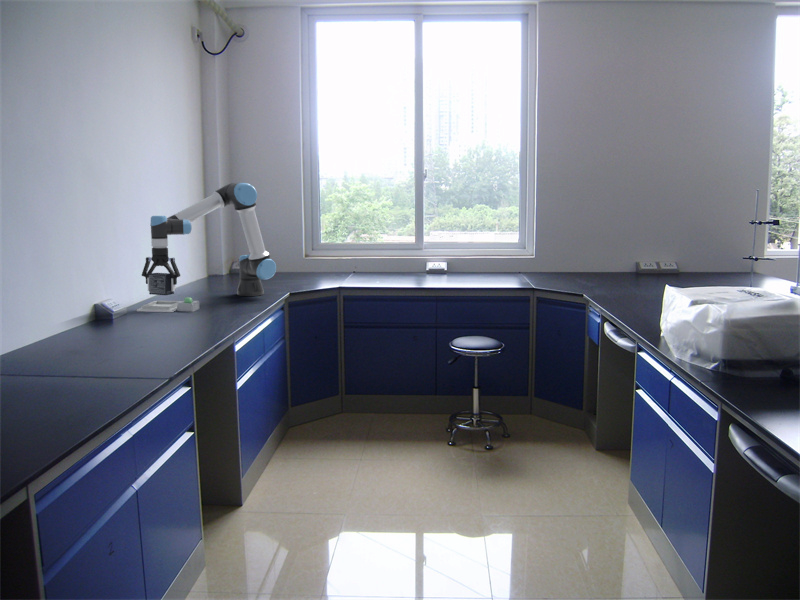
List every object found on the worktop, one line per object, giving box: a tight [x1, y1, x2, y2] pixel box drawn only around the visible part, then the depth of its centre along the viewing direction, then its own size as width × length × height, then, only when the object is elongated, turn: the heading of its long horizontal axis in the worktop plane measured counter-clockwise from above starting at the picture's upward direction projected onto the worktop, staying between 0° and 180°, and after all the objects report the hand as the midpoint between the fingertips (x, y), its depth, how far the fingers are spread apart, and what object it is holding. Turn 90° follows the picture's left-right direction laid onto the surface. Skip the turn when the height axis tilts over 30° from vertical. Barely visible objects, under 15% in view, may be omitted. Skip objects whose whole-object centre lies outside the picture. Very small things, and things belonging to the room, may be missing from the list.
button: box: [183, 297, 193, 303], centre depth 309 cm, size 4×4×4 cm
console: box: [177, 299, 200, 313], centre depth 310 cm, size 8×8×4 cm
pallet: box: [136, 300, 182, 313], centre depth 313 cm, size 18×18×2 cm
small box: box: [148, 272, 175, 296], centre depth 311 cm, size 11×6×10 cm, turn 71°
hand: (161, 290), depth 311 cm, fingers closed on small box, 11 cm apart
